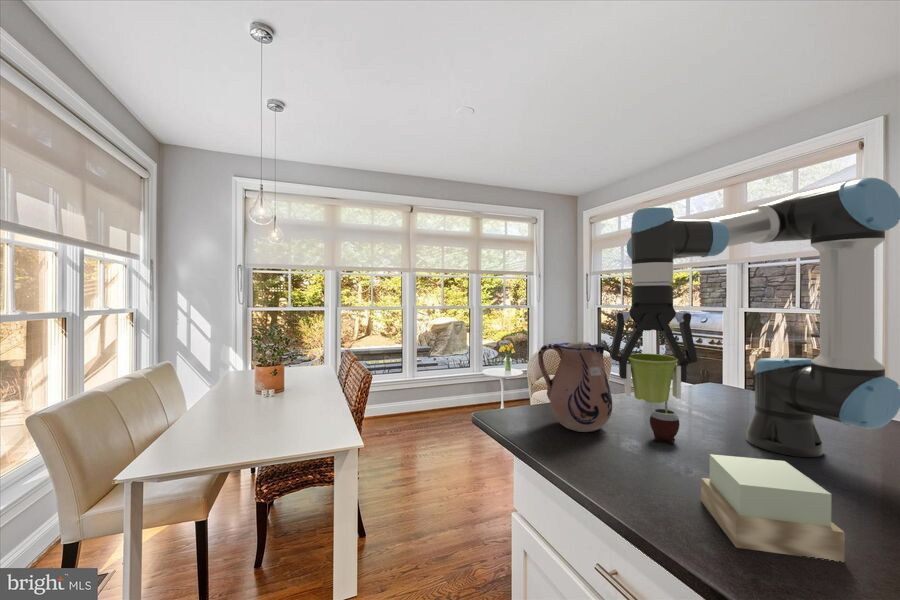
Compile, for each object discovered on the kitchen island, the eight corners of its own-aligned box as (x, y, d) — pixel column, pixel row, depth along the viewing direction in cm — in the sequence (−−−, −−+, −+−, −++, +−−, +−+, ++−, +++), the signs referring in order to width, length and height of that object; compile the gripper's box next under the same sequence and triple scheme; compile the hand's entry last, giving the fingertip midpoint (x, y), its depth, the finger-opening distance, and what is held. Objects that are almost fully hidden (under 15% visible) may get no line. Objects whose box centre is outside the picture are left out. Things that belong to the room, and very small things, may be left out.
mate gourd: (662, 446, 100) (663, 389, 100) (641, 436, 108) (642, 382, 108) (687, 444, 102) (687, 388, 101) (664, 433, 109) (665, 381, 109)
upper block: (784, 488, 70) (784, 461, 70) (831, 526, 58) (831, 494, 58) (709, 480, 73) (709, 454, 73) (739, 515, 61) (739, 484, 61)
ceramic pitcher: (619, 440, 105) (619, 348, 104) (540, 435, 108) (540, 347, 108) (604, 419, 122) (605, 341, 122) (536, 416, 126) (536, 340, 125)
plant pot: (685, 407, 73) (685, 361, 73) (632, 404, 75) (632, 360, 75) (668, 394, 82) (668, 354, 82) (621, 392, 84) (621, 352, 84)
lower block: (786, 513, 71) (787, 486, 70) (844, 565, 57) (844, 532, 57) (701, 503, 74) (701, 477, 74) (735, 550, 60) (736, 519, 60)
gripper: (703, 284, 79) (703, 394, 79) (594, 285, 84) (594, 388, 85) (719, 283, 72) (718, 404, 72) (598, 285, 77) (598, 397, 77)
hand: (651, 395), depth 78 cm, fingers closed on plant pot, 8 cm apart
